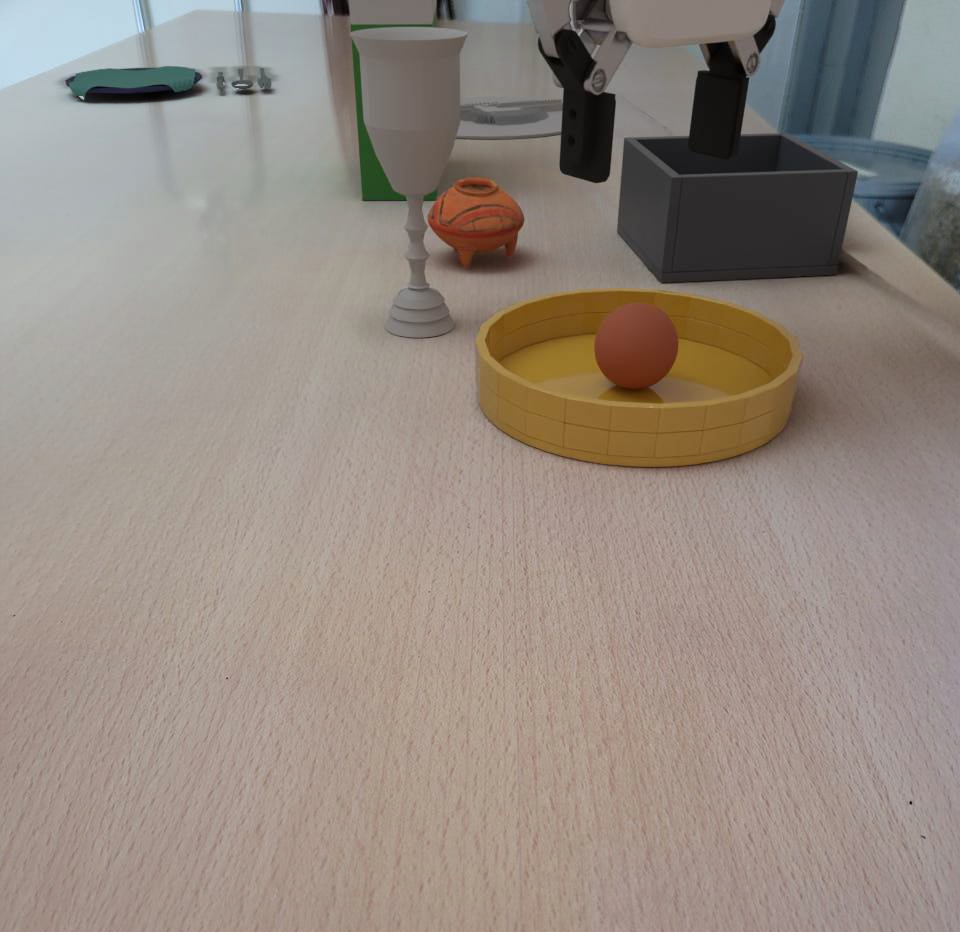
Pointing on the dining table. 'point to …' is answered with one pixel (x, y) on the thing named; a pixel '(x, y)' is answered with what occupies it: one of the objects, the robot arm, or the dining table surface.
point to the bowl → (636, 412)
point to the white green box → (370, 7)
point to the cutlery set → (148, 80)
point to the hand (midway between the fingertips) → (650, 165)
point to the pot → (476, 218)
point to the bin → (734, 208)
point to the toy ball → (636, 346)
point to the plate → (509, 118)
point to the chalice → (412, 143)
